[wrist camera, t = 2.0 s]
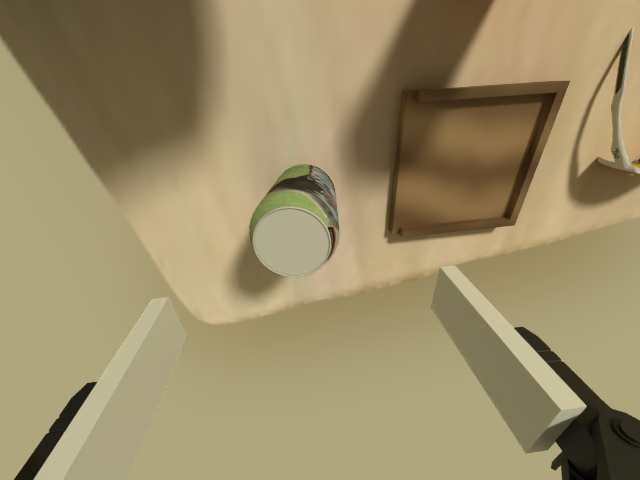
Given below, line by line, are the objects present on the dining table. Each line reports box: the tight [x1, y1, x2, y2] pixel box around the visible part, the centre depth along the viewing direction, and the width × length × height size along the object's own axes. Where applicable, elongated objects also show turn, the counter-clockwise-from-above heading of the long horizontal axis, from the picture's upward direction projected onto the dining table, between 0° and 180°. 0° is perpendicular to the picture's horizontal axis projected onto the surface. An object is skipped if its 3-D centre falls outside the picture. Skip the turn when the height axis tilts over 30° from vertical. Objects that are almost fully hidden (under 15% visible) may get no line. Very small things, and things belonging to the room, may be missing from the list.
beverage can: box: [250, 165, 339, 277], centre depth 21 cm, size 6×7×12 cm
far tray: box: [389, 81, 570, 237], centre depth 26 cm, size 14×14×2 cm
